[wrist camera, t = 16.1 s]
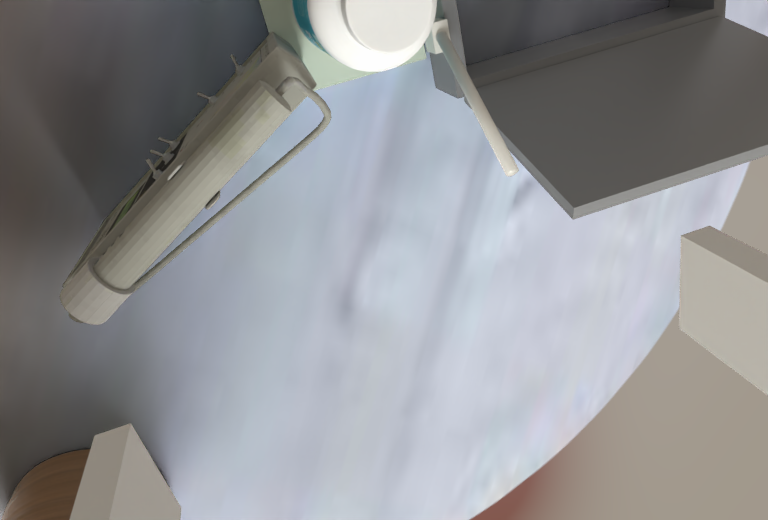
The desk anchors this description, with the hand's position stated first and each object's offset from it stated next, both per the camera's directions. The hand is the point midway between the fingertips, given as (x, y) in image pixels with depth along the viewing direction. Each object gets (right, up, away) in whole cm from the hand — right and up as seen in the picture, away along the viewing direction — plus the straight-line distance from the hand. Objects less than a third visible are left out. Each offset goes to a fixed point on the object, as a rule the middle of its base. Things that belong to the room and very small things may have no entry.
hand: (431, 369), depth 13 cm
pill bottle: (-4, +21, +28) cm, 35 cm away
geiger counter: (-16, +9, +31) cm, 36 cm away
